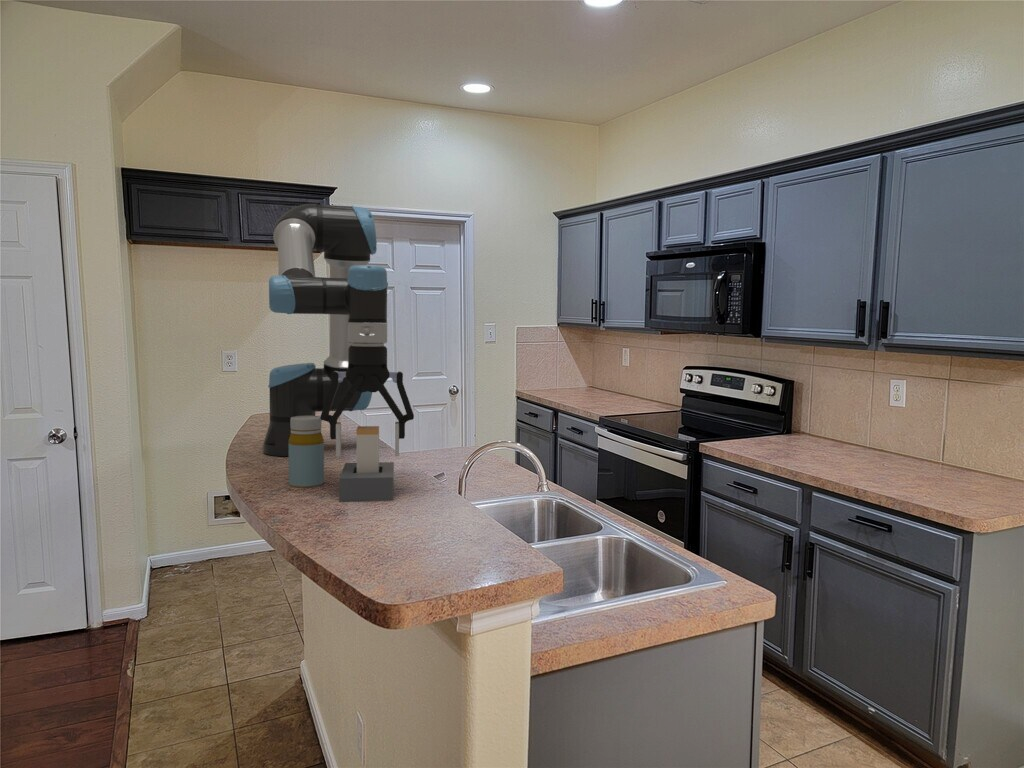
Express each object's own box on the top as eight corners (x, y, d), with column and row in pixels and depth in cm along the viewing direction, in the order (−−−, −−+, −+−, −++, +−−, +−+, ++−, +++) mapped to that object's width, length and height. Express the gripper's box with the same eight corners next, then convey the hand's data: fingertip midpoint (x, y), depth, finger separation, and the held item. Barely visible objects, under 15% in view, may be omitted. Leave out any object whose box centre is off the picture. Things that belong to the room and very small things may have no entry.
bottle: (313, 493, 137) (313, 420, 136) (282, 491, 138) (281, 419, 137) (329, 485, 144) (329, 416, 142) (299, 483, 145) (299, 414, 144)
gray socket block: (345, 488, 141) (345, 462, 141) (393, 487, 143) (393, 462, 143) (339, 506, 128) (339, 478, 127) (392, 505, 129) (392, 477, 129)
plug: (358, 489, 137) (357, 426, 136) (379, 489, 138) (379, 426, 136) (356, 494, 133) (356, 429, 132) (378, 494, 134) (378, 429, 132)
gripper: (304, 345, 127) (305, 459, 129) (427, 346, 131) (427, 458, 133) (309, 343, 134) (310, 452, 136) (426, 345, 138) (425, 450, 140)
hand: (368, 455), depth 135 cm, fingers open, 11 cm apart
